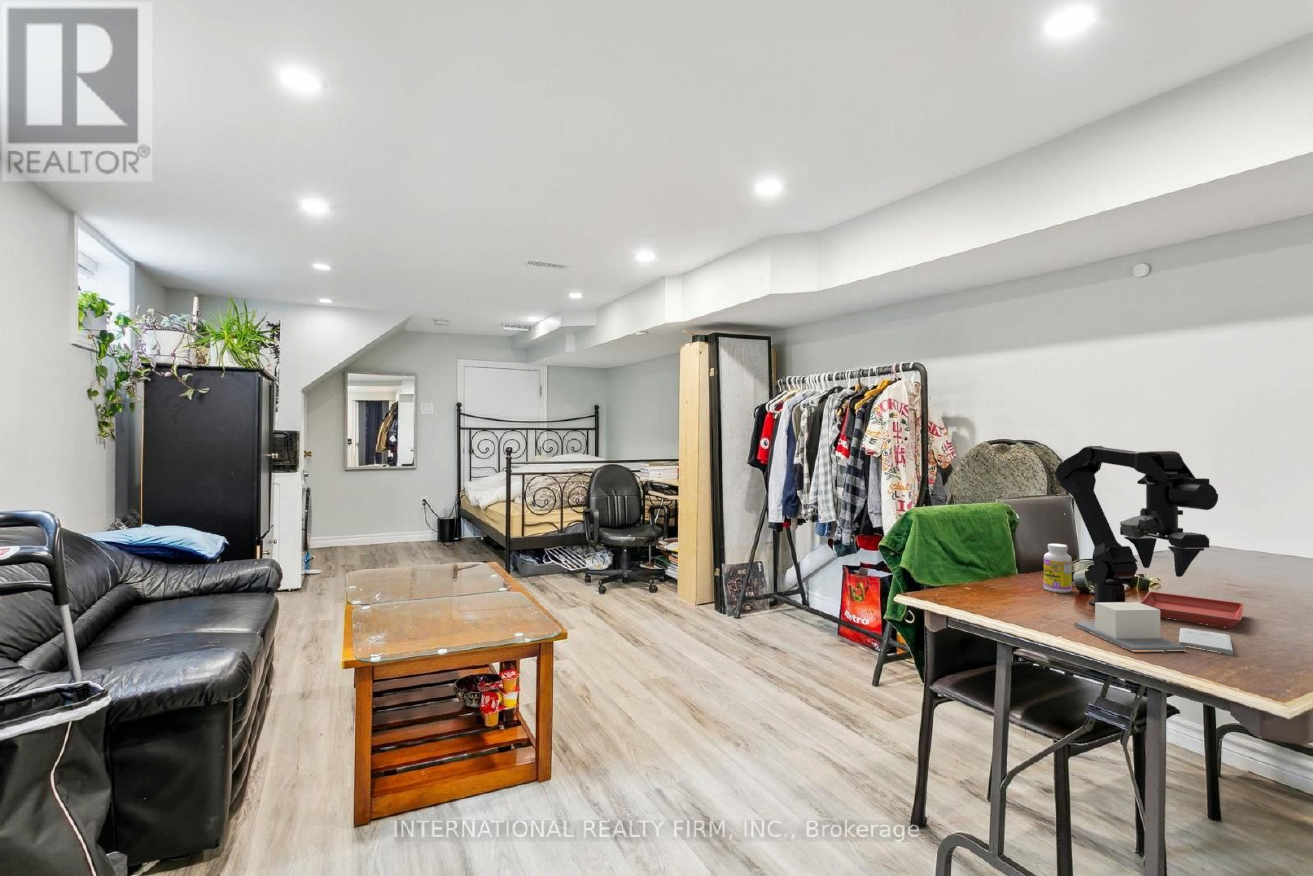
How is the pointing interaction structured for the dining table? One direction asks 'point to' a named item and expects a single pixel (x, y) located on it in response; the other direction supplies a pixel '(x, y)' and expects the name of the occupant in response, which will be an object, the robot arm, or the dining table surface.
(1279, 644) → the dining table surface
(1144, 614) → the block
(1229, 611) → the plant saucer
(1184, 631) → the external hard drive
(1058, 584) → the supplement bottle
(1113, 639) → the base plate
